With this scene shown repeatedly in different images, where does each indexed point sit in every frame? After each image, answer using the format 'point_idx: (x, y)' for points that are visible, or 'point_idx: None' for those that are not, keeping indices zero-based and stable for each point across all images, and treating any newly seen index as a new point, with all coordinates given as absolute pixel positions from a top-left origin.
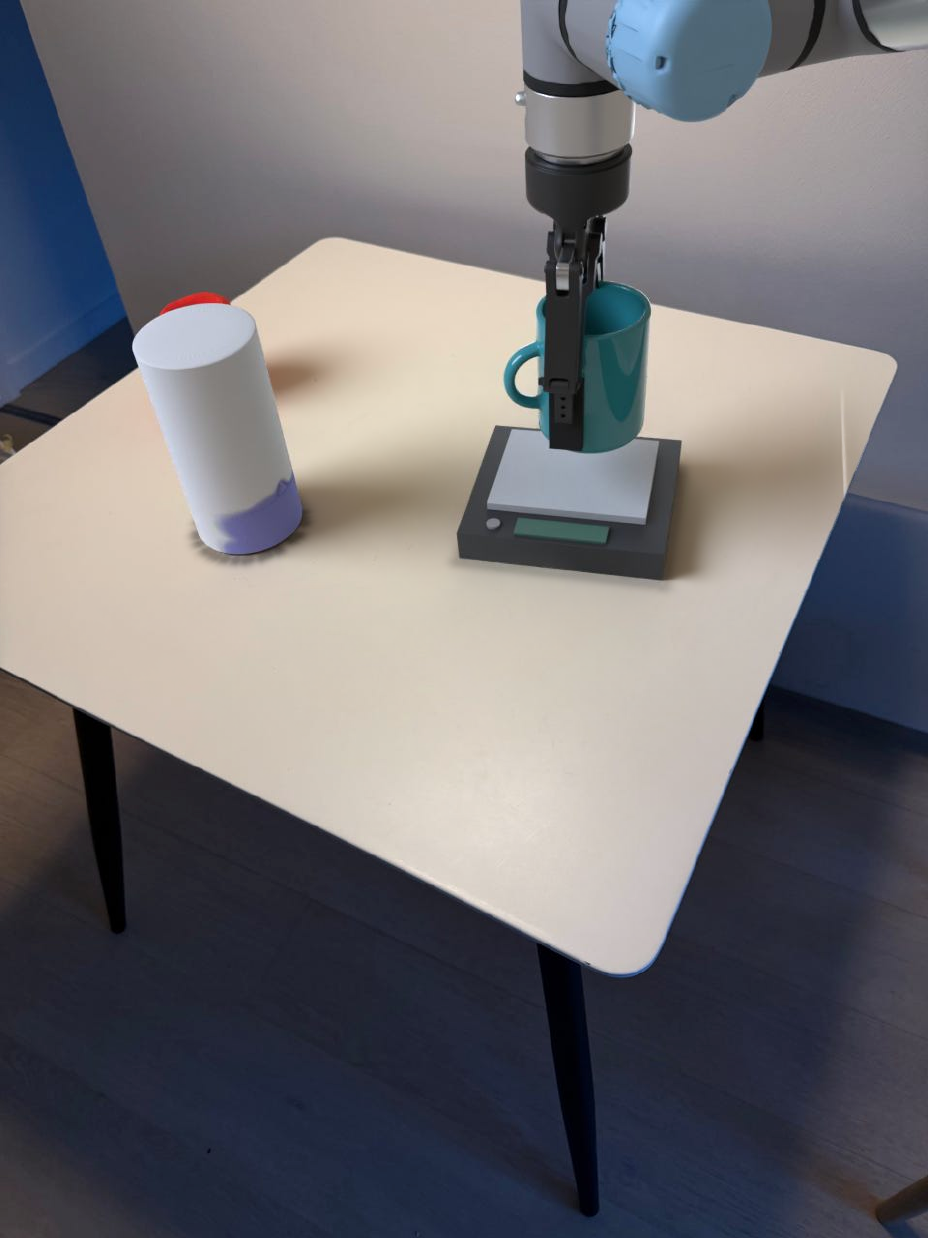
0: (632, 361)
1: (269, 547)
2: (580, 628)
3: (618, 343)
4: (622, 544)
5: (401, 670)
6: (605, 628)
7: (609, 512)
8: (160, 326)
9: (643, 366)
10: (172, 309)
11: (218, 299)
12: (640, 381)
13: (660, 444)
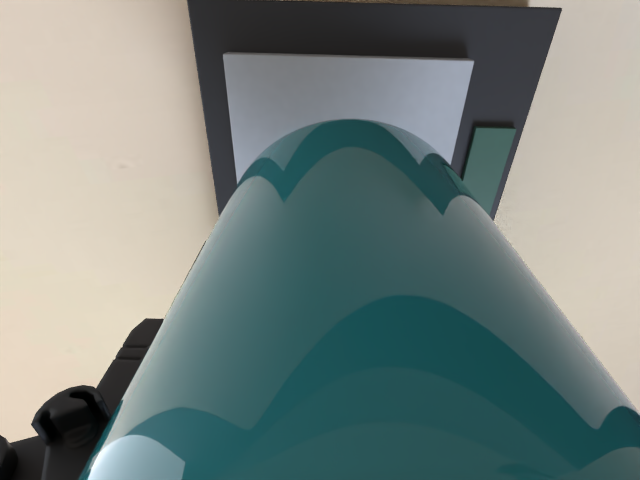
0: (562, 317)
1: None
2: (608, 133)
3: None
4: (517, 97)
5: (619, 308)
6: (618, 97)
7: (452, 133)
8: None
9: (455, 228)
10: None
11: None
12: (456, 205)
13: (215, 49)
